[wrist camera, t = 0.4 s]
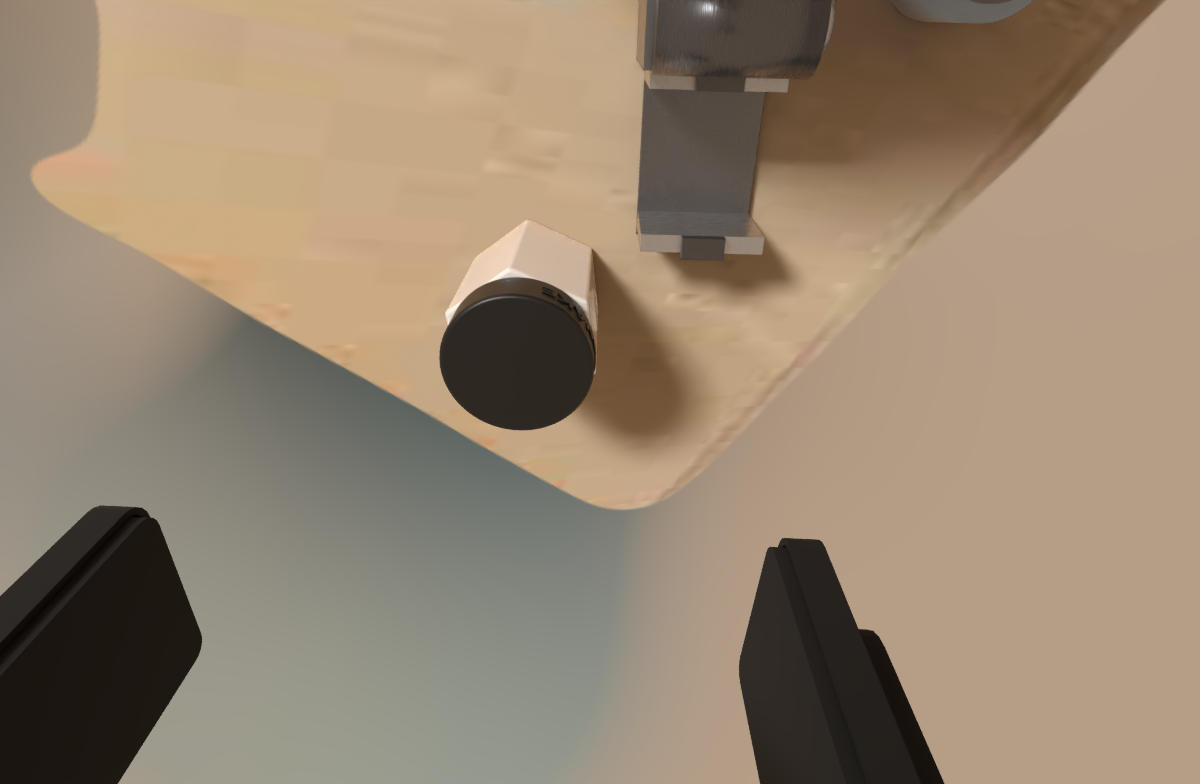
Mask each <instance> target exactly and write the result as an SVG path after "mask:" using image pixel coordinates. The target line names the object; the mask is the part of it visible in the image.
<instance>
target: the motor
mask: <svg viewBox="0 0 1200 784" xmlns="http://www.w3.org/2000/svg"><path fill="white" fill-rule="evenodd" d="M834 18H835V1H834V0H639V17H638V38H637V61H638V63H639V64H640V66H641V68H642V69H643V70H645V74H644V93H643V111H642V130H641V149H640V168H639V187H638V206H637V225H636V234H638V239H639V246H640V252H677V253H680V258H681V259H685V260H723V259H724V254H753V255H762V252H763V246H764V239H765V237H764V236H763V234H762V233H761V232H760V230H759V229H758V227H757V226H756V224H755V223H754V222H753V220H752V219H751V217H750V216H749V214H748V211H749V204H750V197H751V190H752V183H753V176H754V168H755V161H756V154H757V147H758V140H759V133H760V126H761V118H762V111H763V104H764V97H765V92H787V91H788V85H789V79H799V80H807V79H809V78H810V77H811V76H812V75H815V70H816V68H817V66H818V63H819V61H820V58H821V56H822V55H823V54H824V53H825V51H826V49H827V47H828V44H829V42H830V38H831V35H832V30H833V25H834Z"/></svg>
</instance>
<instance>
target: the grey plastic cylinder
mask: <svg viewBox="0 0 1200 784" xmlns="http://www.w3.org/2000/svg"><path fill="white" fill-rule="evenodd" d="M1032 1H1033V0H891V2H892V3H893V5H894V6H895V7H896V9H897V10H898V11H899V12H900V13H902V14H903V15H905V16H906V17H908V18H910V19H913V20H916V21H922V22H945V23H977V24H981V23H991V22H996V21H999V20H1002V19H1005V18H1007V17H1010V16H1012V15H1014V14H1015V13H1017V12H1019V11H1020V10H1022V9H1023V8H1025V7H1026V6H1027V5H1029V4H1030V3H1031V2H1032Z"/></svg>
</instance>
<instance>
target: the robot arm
mask: <svg viewBox="0 0 1200 784" xmlns="http://www.w3.org/2000/svg"><path fill="white" fill-rule="evenodd" d="M201 645H202V636H201V632H200V629H199V627H198V624H197V622H196V619H195V616H194V614H193V611H192V609H191V606H190V604H189V601H188V598H187V596H186V593H185V590H184V588H183V585H182V583H181V580H180V577H179V575H178V572H177V570H176V567H175V565H174V562H173V559H172V556H171V554H170V551H169V549H168V546H167V544H166V541H165V538H164V536H163V533H162V531H161V528H160V525H159V524H158V522H157V520H155V519H154V518H150V516H149V514H148V513H147V511H146V510H144V509H143V508H138V507H119V506H98V507H95V508H93V509H91V510H90V511H89V512H87V513H86V514H85V515H84V516H83V517H82V518H81V519H80V520H79V521H78V522H77V523H76V524H75V525H74V526H73V527H72V528H71V529H70V530H69V531H68V532H66V533H65V534H64V535H63V536H62V537H61V538H60V539H59V540H58V541H57V542H56V543H55V544H54V545H53V546H52V547H51V548H50V549H49V550H48V551H47V552H46V553H45V554H44V555H43V556H42V557H41V558H40V559H38V560H37V561H36V562H35V563H34V564H33V565H32V566H31V567H30V568H29V569H28V570H27V571H26V572H25V573H24V574H23V575H22V576H21V577H20V578H19V579H18V580H17V581H16V582H15V583H14V584H13V585H12V586H10V587H9V588H8V589H7V590H6V591H5V592H4V593H3V594H2V595H1V596H0V784H118V782H119V781H120V779H121V778H122V776H123V774H124V773H125V771H126V770H127V768H128V767H129V765H130V764H131V762H132V760H133V759H134V757H135V756H136V754H137V753H138V751H139V749H140V748H141V746H142V745H143V743H144V741H145V740H146V738H147V737H148V735H149V733H150V732H151V730H152V729H153V727H154V726H155V724H156V722H157V721H158V719H159V718H160V716H161V715H162V713H163V712H164V710H165V708H166V707H167V705H168V704H169V702H170V700H171V699H172V697H173V696H174V694H175V693H176V691H177V689H178V688H179V686H180V685H181V683H182V681H183V680H184V678H185V677H186V675H187V674H188V672H189V670H190V669H191V667H192V666H193V664H194V663H195V661H196V659H197V657H198V655H199V653H200V650H201ZM739 677H740V684H741V689H742V694H743V699H744V704H745V709H746V715H747V719H748V725H749V730H750V735H751V740H752V745H753V750H754V755H755V760H756V765H757V770H758V775H759V780H760V784H944V782H943V779H942V777H941V775H940V773H939V770H938V768H937V766H936V763H935V761H934V759H933V757H932V754H931V752H930V750H929V747H928V745H927V743H926V741H925V738H924V736H923V734H922V731H921V729H920V727H919V725H918V722H917V720H916V718H915V715H914V713H913V711H912V708H911V706H910V704H909V702H908V699H907V697H906V695H905V693H904V690H903V688H902V686H901V683H900V681H899V679H898V676H897V674H896V672H895V670H894V667H893V665H892V663H891V660H890V658H889V656H888V654H887V651H886V649H885V647H884V645H883V643H882V641H881V640H880V638H879V636H877V634H875V633H874V631H871V630H863V629H858V627H857V625H856V622H855V620H854V617H853V615H852V613H851V610H850V607H849V605H848V602H847V600H846V598H845V595H844V593H843V590H842V588H841V585H840V583H839V581H838V578H837V576H836V573H835V571H834V568H833V566H832V563H831V561H830V558H829V556H828V554H827V551H826V548H825V546H824V545H823V543H822V542H821V541H820V540H813V539H791V538H782V539H781V541H780V543H779V545H778V547H769V548H768V550H767V552H766V556H765V561H764V564H763V568H762V572H761V576H760V580H759V584H758V588H757V592H756V596H755V600H754V604H753V608H752V612H751V616H750V620H749V624H748V628H747V632H746V636H745V640H744V644H743V648H742V652H741V656H740V662H739Z"/></svg>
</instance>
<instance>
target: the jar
mask: <svg viewBox="0 0 1200 784" xmlns="http://www.w3.org/2000/svg"><path fill="white" fill-rule="evenodd" d="M446 319H447V324H448V327H447V329H446V331H445V333H444V335H443V338H442V342H441V346H440V368H441V373H442V376H443V379H444V382H445V384H446V386H447V388H448V390H449V391H450V393H451V394H452V396H453V397H454V398H455V400H456V401H457V402H458V403H459V404H460V405H461V406H462V407H463V408H464V409H465V410H466V411H468V412H469V413H470V414H472V415H473V416H475V417H476V418H478V419H480V420H482V421H484V422H486V423H488V424H491V425H493V426H497V427H500V428H504V429H511V430H533V429H539V428H543V427H547V426H550V425H552V424H555V423H557V422H559V421H561V420H563V419H564V418H566V417H567V416H569V415H570V414H571V413H572V412H574V411H575V410H576V409H577V408H578V406H579V405H580V404H581V403H582V402H583V400H584V399H585V397H586V395H587V393H588V391H589V389H590V386H591V384H592V380H593V376H594V375H595V374H596V359H597V330H598V303H597V295H596V285H595V275H594V265H593V256H592V249H591V248H590V247H589V246H586V245H584V244H582V243H580V242H577V241H575V240H573V239H571V238H569V237H566V236H564V235H562V234H560V233H557V232H555V231H553V230H551V229H548V228H546V227H544V226H542V225H540V224H537V223H535V222H533V221H531V220H526V221H524V222H523V223H522V224H520V225H519V226H517V227H516V228H515V229H513V230H512V231H511V232H509V233H508V234H507V235H505V236H504V237H503V238H501V239H500V240H498V241H497V242H496V243H494V244H493V245H492V246H490V247H489V248H488V249H486V250H485V251H483V252H482V253H481V254H479V255H478V256H477V257H476V258H475V259H474V261H473V263H472V265H471V267H470V268H469V270H468V272H467V274H466V276H465V278H464V280H463V281H462V283H461V285H460V287H459V289H458V291H457V293H456V294H455V296H454V298H453V300H452V302H451V304H450V306H449V307H448V309H447V311H446Z"/></svg>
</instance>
